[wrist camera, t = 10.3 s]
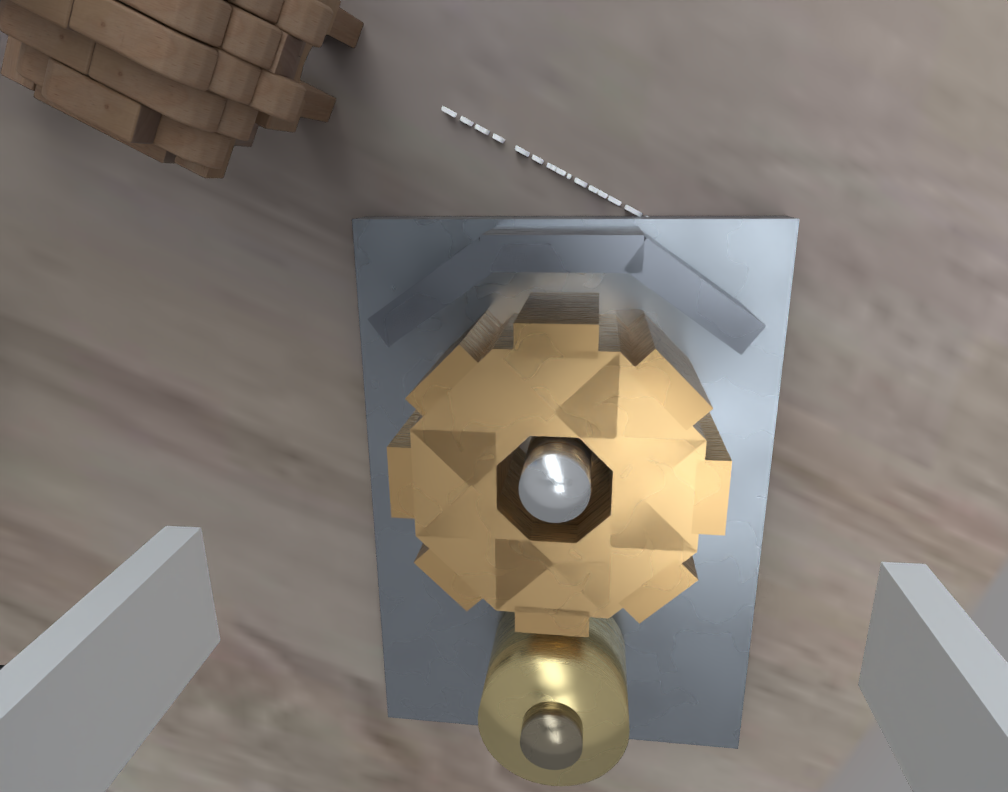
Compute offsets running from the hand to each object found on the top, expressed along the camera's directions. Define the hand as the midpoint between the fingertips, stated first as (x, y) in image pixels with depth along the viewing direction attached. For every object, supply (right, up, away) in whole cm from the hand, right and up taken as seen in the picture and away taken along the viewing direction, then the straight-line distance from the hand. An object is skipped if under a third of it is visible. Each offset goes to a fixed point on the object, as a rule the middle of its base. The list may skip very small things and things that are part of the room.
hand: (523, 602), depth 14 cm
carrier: (+2, +1, +13) cm, 13 cm away
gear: (+2, +3, +10) cm, 11 cm away
